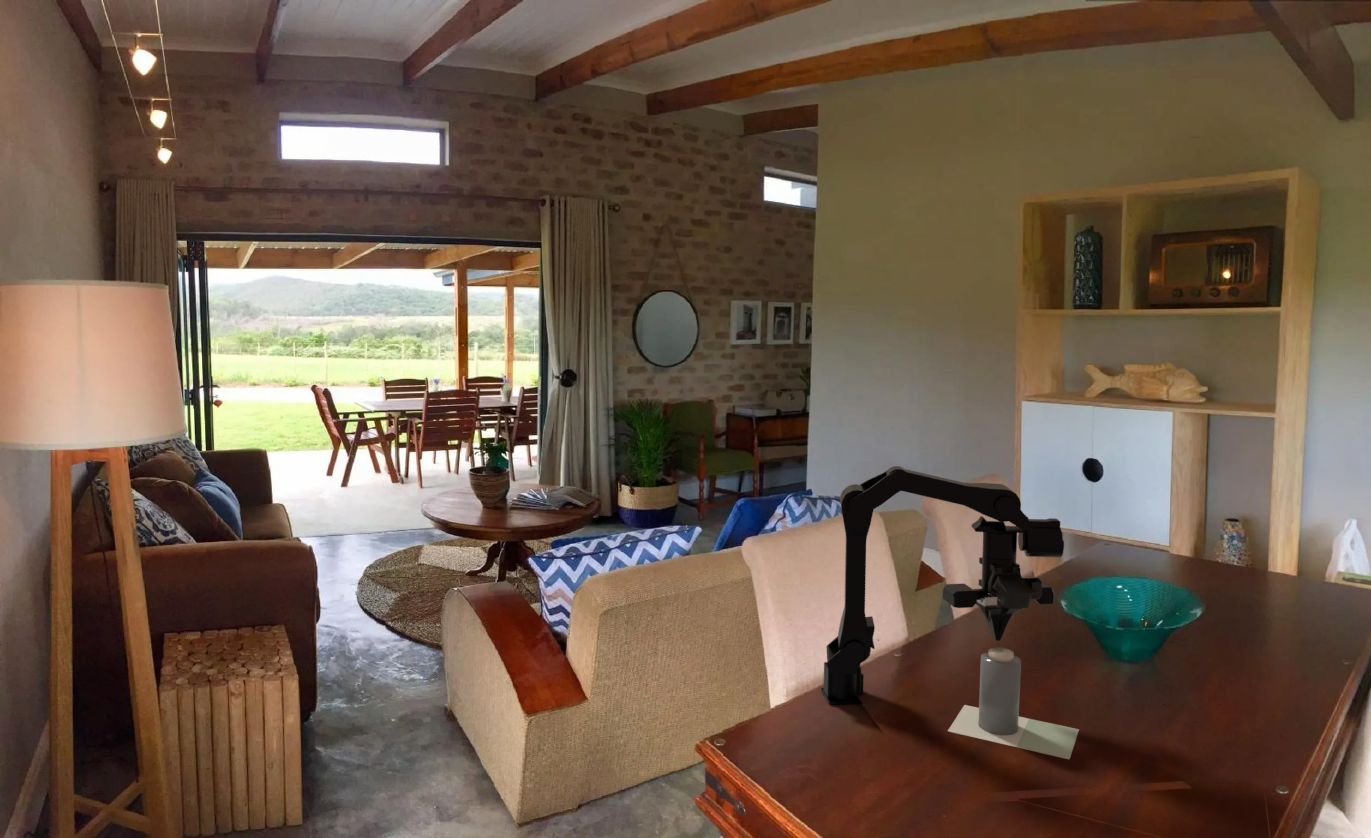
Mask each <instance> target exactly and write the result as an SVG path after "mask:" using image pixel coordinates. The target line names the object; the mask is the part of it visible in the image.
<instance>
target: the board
mask: <svg viewBox="0 0 1371 838" xmlns="http://www.w3.org/2000/svg"><path fill="white" fill-rule="evenodd" d="M978 719H979V707H977V706H971V705H967V704H964V705H963V706H962V708H961V710H960V711H959V712H958V714H957V716H956V717H955V719H954V721H953V722H952V724H951V725H950V727H949V728H948V730H947V732H949V733H953V734H956V735H957V734H958V735H960V736H961V735H962V736H966V737H971V738H973V739H980V740H984V741H986V742H987V741H988V742H992V743H997V744H1001V745H1006V746H1009V747H1014V748H1018V749H1023V750H1027V751H1032V752H1036V753H1040V754H1043V755H1048V756H1053V757H1056V758H1061V759H1065V760H1066V759H1067V760H1070V759H1071V756H1072V753H1073V750H1074V748H1075V747H1074V746H1075V743H1076V741H1077V737H1078V734H1079V731H1080V729H1078V728H1075V727H1074V728H1073V727H1069V726H1065V725H1060V724H1056V723H1051V722H1045V721H1041V720H1039V719H1038V720H1036V719H1033V718H1027V717H1023V716H1019V721H1018V732H1017V733H1015V734H1013V735H996V734H992V733H989V732H986V731H984V730H982V729H981V728H980V727H979V725H978Z"/></svg>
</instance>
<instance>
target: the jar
mask: <svg viewBox="0 0 1371 838" xmlns="http://www.w3.org/2000/svg"><path fill="white" fill-rule="evenodd" d="M1014 653H1015V652H1014V651H1013V650H1011V649H1008V648H1005V647H991V648H989V649H988V652H987V651H986V652H984V653H982V654H980V669H979V670H980V671H979V673H980V674H979V692H978V693H979V698H978V699H979V700H978V708H979V719H978V725H979V727H980V728H981V729H982V730H984V731H986V732H989V733H992V734H996V735H1013V734H1015V733H1017V732H1018V721H1019V717H1020V716H1019V715H1020V695H1021V694H1020V693H1021V692H1020V691H1021V670H1022V659H1021V658H1020V657H1018V656H1017V655H1014Z"/></svg>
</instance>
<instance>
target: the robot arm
mask: <svg viewBox="0 0 1371 838" xmlns="http://www.w3.org/2000/svg"><path fill="white" fill-rule="evenodd" d="M900 492H905V493H909V494H913V495H917V496H922V497H927V498H930V499H935V500H938V501H942V502H943V501H944V502H947V503H952V504H957V505H960V506H964V507H966V508H969V509H971V510H973V511H975V512H977V513H979V514H981V516H979V518H978V519H977V520H976V521H975V522H973V523H971V528H972V529H973V530H974V532H976V533H982V557H979V560H978V561H979V564H980V565H981V567H982V568H981V578H980V579H978V586H980V587H981V588H972V587H970V586H969V585H967V584H966V583H947V584H945V586H944V587H943V589H942V600H944V601H945V602H946V603H948V604H949V605H950V606H952V607H953V608H957V609H965V608H973V607H975V605H976V606H978V607H979V608H980V610H981V613H983V616H984V618H985V621H986V622H987V623H986V624H987V626H988V628H989V631H990V634H991V636H992V639H993V640H994V641H996V642H997V641H998V642H999V641H1001V640H1002V637H1003V636H1004V632H1005V630H1006V628H1007V626H1008V624H1009V622H1010V620H1011V618H1012V616H1013V614H1015V613H1016V612H1018V611H1019V610H1023V609H1029V608H1030V606H1031V602H1032V600H1034V601H1035V602H1036V603H1037V604H1039V605H1053V604H1055V597H1056V594H1055V590H1054V589H1053V588H1052V587H1051V586H1050V585H1048V584H1046V583H1044V582H1043V581H1042V580H1041V579H1040V577H1029V578H1028V577H1022V575H1021V567H1020V564H1019V563H1017V552H1018V551H1017V550H1018V549H1019V551H1021V552H1024V554H1025V556H1026V557H1028V558H1029V557H1031V558H1034V557H1035V558H1062V556H1063V555H1064V549H1065V541H1064V540H1063V532H1062V531H1063V530H1062V529H1061V521H1060V520H1059V518H1054V517H1052V518H1050V517H1049V518H1046V519H1045V518H1044V519H1042V518H1039V519H1038V518H1036V519H1035V518H1029V517H1028V516H1027V515H1026V514H1025V513H1024V512H1023V511H1022V502H1021V499H1020V497H1019V496H1018V494H1017V493H1016V492H1014V491H1013V490H1012V489H1011V488H1010V487H1008V486H1007V485H1005V484H1002V483H994V482H993V483H992V482H988V483H987V482H973V483H972V482H970V483H969V482H964V481H963V482H962V481H958V480H956V479H955V480H954V479H950V478H945V477H941V476H937V475H933V474H927V473H924V472H920V471H915V470H910V469H906V468H904V467H901V466H897V465H893V466H891V467H889V468H888V469H887V470H886V471H883V472H882V473H880V474H878V475H875V476H873V477H872V478H869V479H867V480H865V481H864V482H862V483H860V484H857V483H856V484H850V485H848V486H846V487H845V488H844V489H843V490H841V493H840V498H839V500H840V501H839V502H840V508H841V514H842V521H843V527H844V532H845V552H844V553H845V555H844V556H845V559H844V560H845V561H844V568H845V569H844V607H843V609H842V610H843V611H842V613H841V618H840V622H839V627H838V632H837V636H836V637H835V638H834V639H832V641H830V642H829V643H828V644H827V645H826V661H824V662H823V687H821V688H820V692H821V693H822V695H823V697H824V698H825V699H826V701H827V703H828V704H829V705H846V704H848V705H849V704H862V703H863V702H862V700H861V699H860V698H859V696H862V695H864V680H865V677H864V674H863V672H862V666H861V664H862V663H864V662H865V661H866V660H867V659H869V658H870V655H871V652H872V650H874V649H876V648H875V644H874V643H875V642H874V634H875V623H874V618H873V616H866V574H867V573H866V572H867V571H866V567H867V566H866V565H867V537H868V535H869V532H870V531H869V530H870V527H871V523H872V518H873V513H874V510H875V509H876V508H878V507H880V506H882V505H883V504H884V503H886V502H887V501H889V499H891V498H892V497H893V496H896V495H897V494H898V493H900ZM982 515H984V516H985V517H989V518H990V519H992V520H987V519H985V517H984V516H982ZM1006 522H1009V523H1011V524H1013V525H1006V524H1005V523H1006ZM1017 543H1018V546H1017ZM1017 548H1018V549H1017Z"/></svg>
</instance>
